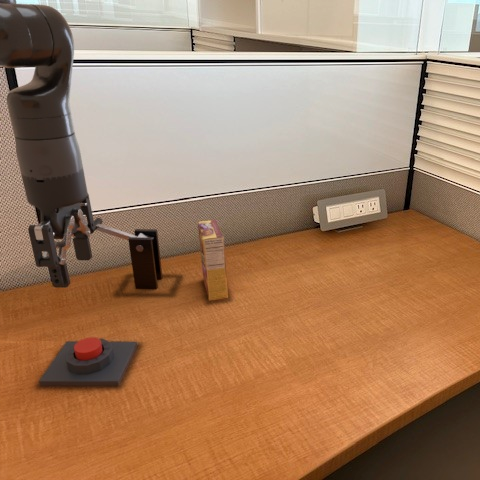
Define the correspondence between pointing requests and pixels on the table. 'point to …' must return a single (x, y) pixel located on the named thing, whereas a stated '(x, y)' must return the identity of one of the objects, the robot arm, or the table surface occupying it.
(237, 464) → the table surface
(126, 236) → the lever
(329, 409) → the table surface
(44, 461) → the table surface
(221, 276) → the candy box
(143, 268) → the bracket
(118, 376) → the control block
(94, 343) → the button
